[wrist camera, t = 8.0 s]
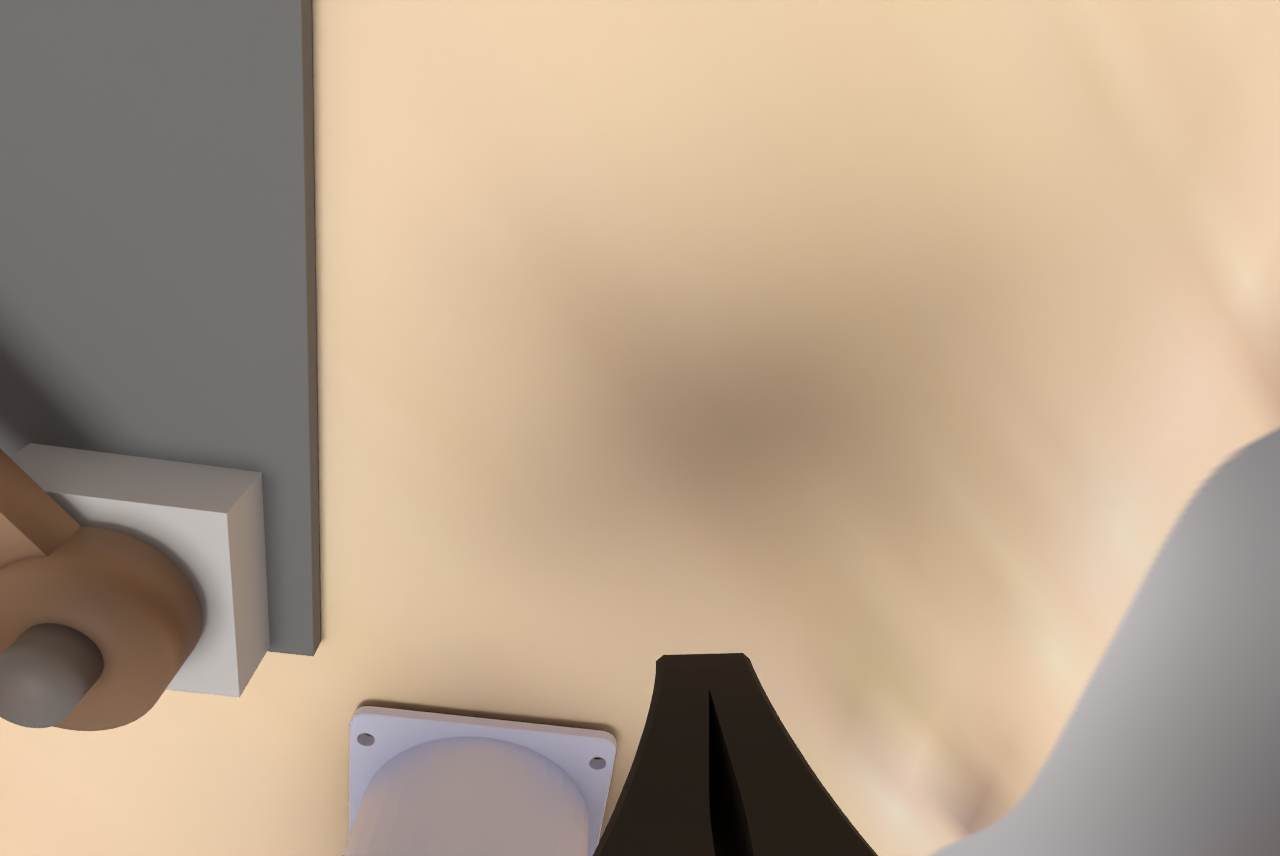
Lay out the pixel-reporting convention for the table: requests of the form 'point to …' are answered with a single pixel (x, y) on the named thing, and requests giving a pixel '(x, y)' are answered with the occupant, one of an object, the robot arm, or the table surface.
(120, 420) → the plate
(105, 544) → the lever
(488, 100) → the table surface
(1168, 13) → the table surface
